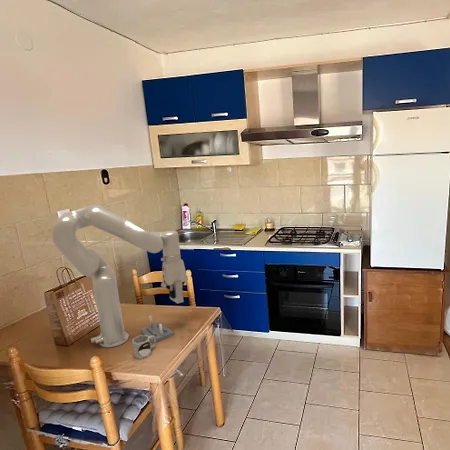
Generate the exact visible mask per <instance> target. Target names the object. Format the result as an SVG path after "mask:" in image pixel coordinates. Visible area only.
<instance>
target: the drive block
mask: <svg viewBox="0 0 450 450" xmlns="http://www.w3.org/2000/svg"><path fill="white" fill-rule="evenodd" d="M173 290H174V296H175V298H174V299H173V298H171V297H170V296H169V299H170V300H171V301H172V302H175V304H181V303H184V294H183V292H184V291H183V287H182V282H181V280H179V281H175V282H174V284H173Z"/></svg>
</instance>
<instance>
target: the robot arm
mask: <svg viewBox="0 0 450 450" xmlns="http://www.w3.org/2000/svg"><path fill="white" fill-rule="evenodd" d="M87 227H88V228H89V227H93V228H96V229H99V230H101V231H104V232H106V233H108V234H110V235H113V236H115V237H117V238H119V239H121V240H122V241H124V242H127V243H129V244H131V245H133V246H135V247H136V248H139V249H142V250H144V251H147V252H148V253H151V254H156V253H160V252H161V251H162V254H163V255H162V257H161V258H160V261H161V262H162V267H161V268H162V269H161V270H162V271H161V272H162V273H161V275H162V277H161V278H162V281H161V284H160V287H162V288H166V289H167V290H168V293H169V298H170V297H171V298H173V299H174V298H175V296H174V290H173V284H174V282H175V281H179V280H181V282H182V288H184V287H183V286H184V285H185V283H186V282H188V281H189V278H188V277H187V273H186V267H185V263H184V260H183V259H181V257H182V256H181V248H180V238H179V233H178V231H177V230H166V231H151V232H149V231H147V230H146V229H145V230H144V229H142V228H141V227H139V226H137V224H135V223H133V222H132V221H131V220H130V219H128V218H126V217H123V216H121V215H118V214H117V213H114V212H112V211H110V210H108V209H106V208H105V207H104V206H103V205H101V204H91V205H89V206H85V207H82V208H78V209H74V210H71V211H67V212H65V213H63V214H62V215H60V216H59V218H57V221H56V222H55V224H54V226H53V228H52V232H51V233H52V234H51V236H52V238H51V239H52V242H53V244H54V246H55V248H56V249H57V250H58V251H59V252H60V253H61V255H63V256H64V257H65V258H66V260H67V261H68V262H69V263H70V265H72V267H74V268H75V269H76V271H78V273H79V274H81V275H82V276H86V277H89V278H91V280H92V289H93V295H94V300H95V305H96V310H97V314H98V321H99V326H100V332H99V334H98V335H97V336H95V337H91V338H90V342H91V344H92V343H95V344H99V346H100V347H103V348H113V347H118V346H120V345H123V344H124V343H126V342H127V341H128V340H129V339H130V338H129V337H130V335H129V332H126V331H125V327H124V321H123V316H122V315H123V313H122V307H121V302H120V295H119V290H118V283H117V277H116V272H115V270H114V269H113V268H112V267H111V265H110V264H108V263H107V262H106V260H105V259H104V258H103V257H102V256H101V255H100V254H99V253H98V252H97V251H96V250H94V249H89V248H87V247H86V246H85V245H84V244H83V243H82V242H81V241H80V239H78V237H77V236H76V235H77V234H76V233H77V232H78V230H81V229H85V228H87Z"/></svg>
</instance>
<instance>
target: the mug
mask: <svg viewBox="0 0 450 450" xmlns="http://www.w3.org/2000/svg"><path fill="white" fill-rule="evenodd" d="M152 338H153V343H151V341H150V339H152ZM131 341H132V349H133V353H134V358H135V359H146V358H148V357H150V355H152V349H154V347H155V346H156V345H157V342H156V339H155V336H154V335H152V336H147V335H144V334H141V335H137V336H135V337H134V338H132V340H131Z"/></svg>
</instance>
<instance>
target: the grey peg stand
mask: <svg viewBox="0 0 450 450" xmlns="http://www.w3.org/2000/svg"><path fill="white" fill-rule="evenodd" d="M148 317H149V325H148V326H145V327H142V328H140V333H141V334H142V335H147V336H152V335H154V336H155V339H156V343H158V342H161V341H163V340H166V339H169V338H172V337H174V336H175V334H174V332H173V331H172V330H171V329H170V328H168V326H167V325H165V324H164V323H163V322H161V321H160V322H157V323H154V321H153V315H149V316H148ZM150 343H151V344H153V338H152V339H150Z"/></svg>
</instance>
